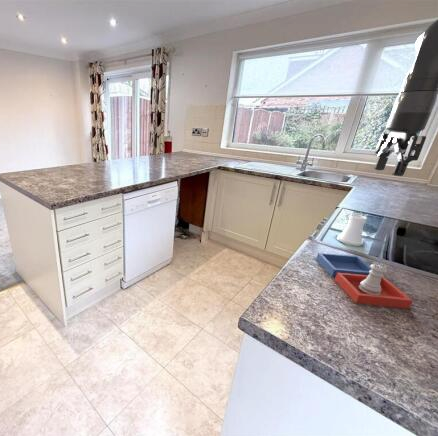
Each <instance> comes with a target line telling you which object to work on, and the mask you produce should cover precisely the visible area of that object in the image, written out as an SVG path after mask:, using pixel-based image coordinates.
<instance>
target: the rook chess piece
mask: <svg viewBox="0 0 438 436" xmlns="http://www.w3.org/2000/svg"><path fill="white" fill-rule="evenodd" d="M369 265H370V267H371V270H370V271H369V272H370V273H369V275H368V277H367V278H366V279H365V280H364V281H362V282H360V285H359V289H360V290H361V291H362V292H364V293H366V294H371V295H380V292H381V290H382V289H381V285H380V282H381V278H382V277H385V275H384V274H385V273H387V272H388V269H387V265H385V264H383V263H380V262H373V263H372V264H369Z"/></svg>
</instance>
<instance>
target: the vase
mask: <svg viewBox="0 0 438 436" xmlns="http://www.w3.org/2000/svg"><path fill="white" fill-rule="evenodd" d="M367 220H368V217H366V216H365V215H362V214H357V213H350V214H349V218H348V221H347V224H346V225H345V228H344V229H343V230H342V231H341V232H340V234H338V235H337V237H336V239H337V240H338V241H339V242H341V243H342V244H346V245H349V246H356V247H361V246H363V243H364V240H363V236H362V235H363V228H364V225H365V223H366V221H367Z"/></svg>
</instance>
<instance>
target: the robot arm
mask: <svg viewBox="0 0 438 436" xmlns="http://www.w3.org/2000/svg"><path fill="white" fill-rule="evenodd" d="M416 39H417V40H416V41H415V50H416V52H417V53H416V55H415V59H414V62H413V64H412V67H411V68H410V69H409V70H408V72H407V73H406V76H405V78H404V80H403V83H402V86H401V89H400V91H399V94H398V96H397V98H396V100H395V102H394V104H393V107H392V109H391V113H390V115H389V118H388V121H387V124H386V126H385V129H386V130H387V131H390V132H387V133H386V132H382V133H381V134H380V136H379V139H378V142H377V144H376V146H375V150H374V154H375V155H376V157H377V160H376V163H375V165H374V168H373V169H374V170H376V171H383V170H385V168H386V165H387V164H388V163H387V162H388V160H389V157H390V156H391V155H392V153H394V154H395V155H396V157H397V161H396V163H395V166H394V168H393V170H392V173H391V175H392V176H395V177H402V176H404V175H405V173H406V171H407V169H408V166H409V163H411V162H413V161H415V162H416V161H418V160H419V159H420V156H421V153H422V150H423V147H424V144H425V142H426V139H427V136H426V135H417V134H418V132H423V131H424V130H425V129H426V127H427V125H428V122H429V119H430V117H431V115H432V113H433V110H434V107H435V105H436V102H437V100H438V18H437V19H436V20H434V21H433V22H432V23H431V24H429V25H428V26H427V27H426V28H425V29H424V30H423V31H422V32H420V34H419V36H418V37H417V38H416Z"/></svg>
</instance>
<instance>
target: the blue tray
mask: <svg viewBox="0 0 438 436" xmlns="http://www.w3.org/2000/svg"><path fill="white" fill-rule="evenodd" d="M315 260H316V261H317V262H318V263H319V264H320V266H321V267H323V269H325V271H326V272H327V273H328V274H329V275H330V276H331V277H332V278H335V277H336V275H337V273H348V274H359V275H369V273H370V272H369V271H370V270H371V267H370V265H371V264H369V263H368V262H366V261H365V260H364V259H362V258H361V257H360V256H359V255H351V254H339V253H328V252H327V253H325V252H317V254H316V257H315Z"/></svg>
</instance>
